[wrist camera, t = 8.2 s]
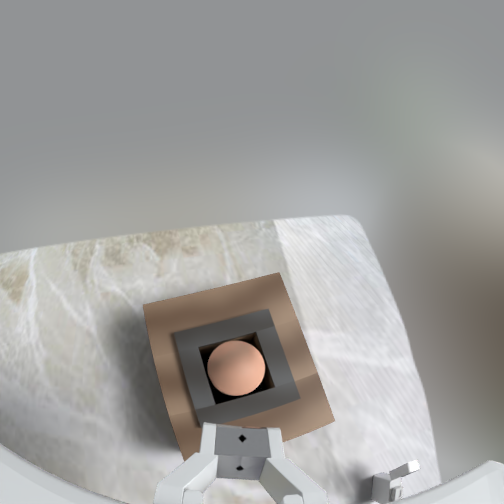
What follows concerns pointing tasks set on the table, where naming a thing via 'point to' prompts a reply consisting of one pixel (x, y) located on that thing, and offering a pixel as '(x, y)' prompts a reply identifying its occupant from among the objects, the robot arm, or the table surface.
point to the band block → (235, 329)
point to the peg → (236, 368)
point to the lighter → (391, 483)
